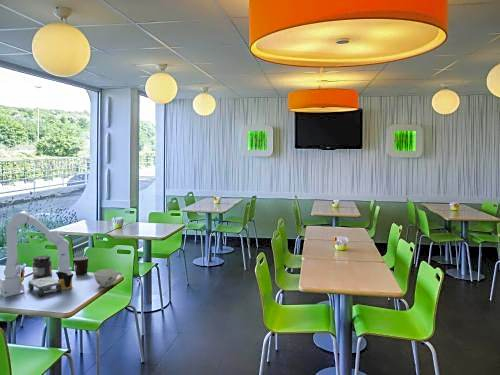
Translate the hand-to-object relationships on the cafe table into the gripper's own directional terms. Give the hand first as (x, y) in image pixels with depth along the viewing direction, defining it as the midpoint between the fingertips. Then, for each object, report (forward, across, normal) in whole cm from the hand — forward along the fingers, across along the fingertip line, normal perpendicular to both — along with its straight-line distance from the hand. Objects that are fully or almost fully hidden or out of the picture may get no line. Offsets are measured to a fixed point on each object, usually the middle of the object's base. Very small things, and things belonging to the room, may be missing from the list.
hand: (65, 285), depth 237 cm
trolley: (+1, +2, +10) cm, 10 cm away
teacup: (+2, -13, -19) cm, 23 cm away
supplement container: (+2, +33, +1) cm, 33 cm away
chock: (+2, 0, 0) cm, 2 cm away
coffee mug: (+2, +19, -17) cm, 26 cm away
